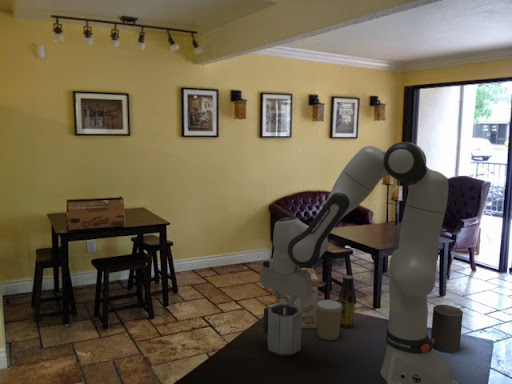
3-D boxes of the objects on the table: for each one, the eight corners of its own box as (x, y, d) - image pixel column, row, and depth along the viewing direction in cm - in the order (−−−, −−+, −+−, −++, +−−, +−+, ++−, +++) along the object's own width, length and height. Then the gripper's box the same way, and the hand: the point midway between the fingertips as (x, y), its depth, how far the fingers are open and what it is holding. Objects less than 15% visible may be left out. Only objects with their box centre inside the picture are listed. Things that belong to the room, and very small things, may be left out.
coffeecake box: (317, 328, 172) (318, 279, 169) (298, 328, 172) (299, 279, 169) (311, 313, 187) (313, 267, 184) (294, 313, 187) (295, 267, 184)
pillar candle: (424, 343, 160) (427, 303, 158) (443, 338, 165) (446, 299, 163) (446, 356, 152) (450, 313, 150) (466, 350, 156) (469, 308, 154)
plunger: (299, 336, 154) (300, 296, 153) (285, 343, 149) (286, 301, 147) (282, 329, 160) (283, 290, 158) (268, 336, 154) (269, 296, 152)
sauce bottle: (334, 323, 177) (336, 274, 175) (348, 321, 179) (350, 273, 177) (342, 329, 171) (344, 279, 169) (356, 328, 173) (358, 278, 170)
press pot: (306, 348, 155) (307, 310, 153) (286, 360, 147) (287, 319, 145) (275, 336, 165) (276, 299, 163) (254, 346, 156) (255, 308, 155)
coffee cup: (339, 330, 170) (341, 300, 169) (342, 341, 161) (343, 309, 160) (315, 329, 171) (316, 298, 170) (315, 340, 162) (317, 308, 161)
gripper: (316, 269, 146) (315, 309, 148) (269, 257, 160) (268, 294, 162) (305, 273, 142) (304, 315, 144) (257, 260, 155) (256, 299, 157)
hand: (284, 304), depth 153 cm, fingers closed on plunger, 4 cm apart
